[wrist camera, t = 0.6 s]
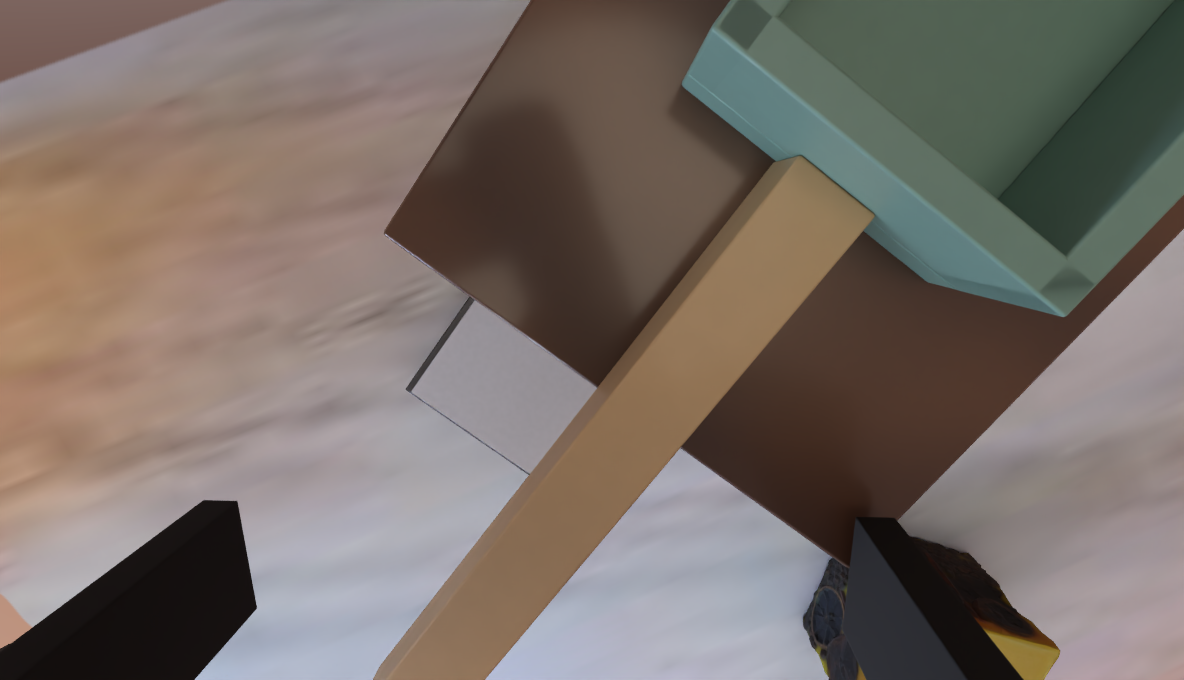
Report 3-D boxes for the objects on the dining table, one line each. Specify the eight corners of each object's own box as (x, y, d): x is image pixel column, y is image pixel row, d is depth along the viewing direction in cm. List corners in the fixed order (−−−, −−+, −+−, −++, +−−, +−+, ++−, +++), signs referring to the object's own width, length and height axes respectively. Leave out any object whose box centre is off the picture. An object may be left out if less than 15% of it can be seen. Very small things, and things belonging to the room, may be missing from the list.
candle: (971, 552, 45) (1069, 647, 35) (917, 657, 47) (995, 775, 38) (846, 515, 45) (910, 601, 35) (798, 623, 47) (845, 732, 37)
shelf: (676, 33, 38) (883, -557, 8) (818, 148, 39) (1430, -19, 10) (550, 212, 41) (381, 234, 11) (687, 314, 42) (850, 571, 13)
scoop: (961, -307, 9) (1169, -615, 6) (1229, -54, 10) (1563, -194, 6) (298, 615, 13) (190, 755, 10) (512, 749, 14) (479, 924, 11)
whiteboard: (533, 211, 41) (526, 212, 37) (691, 330, 42) (697, 340, 39) (416, 380, 44) (400, 393, 41) (567, 484, 45) (563, 505, 42)
